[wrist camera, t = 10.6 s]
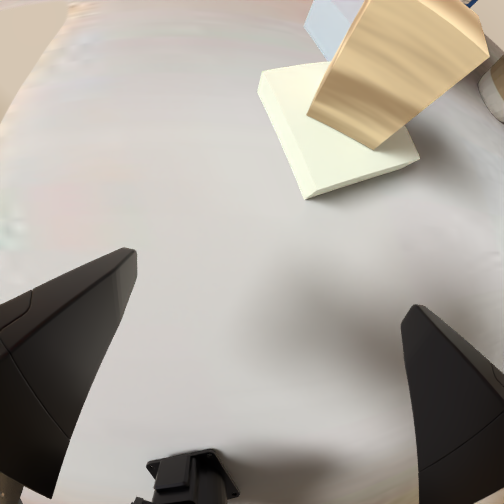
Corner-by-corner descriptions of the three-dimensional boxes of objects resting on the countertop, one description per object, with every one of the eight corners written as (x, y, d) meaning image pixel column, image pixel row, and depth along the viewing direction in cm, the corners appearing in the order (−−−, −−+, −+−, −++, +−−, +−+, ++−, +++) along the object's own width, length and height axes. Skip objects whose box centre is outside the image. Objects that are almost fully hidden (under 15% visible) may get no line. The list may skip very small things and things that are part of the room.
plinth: (398, 170, 23) (420, 158, 20) (302, 201, 22) (317, 190, 19) (352, 78, 23) (367, 58, 20) (256, 94, 22) (262, 71, 19)
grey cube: (376, 63, 23) (403, 30, 17) (330, 67, 23) (354, 28, 17) (349, 25, 23) (369, -9, 17) (303, 26, 23) (318, -13, 17)
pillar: (373, 150, 19) (489, 56, 7) (306, 115, 19) (382, -20, 6) (384, 107, 20) (478, 15, 7) (323, 75, 19) (389, -44, 7)
